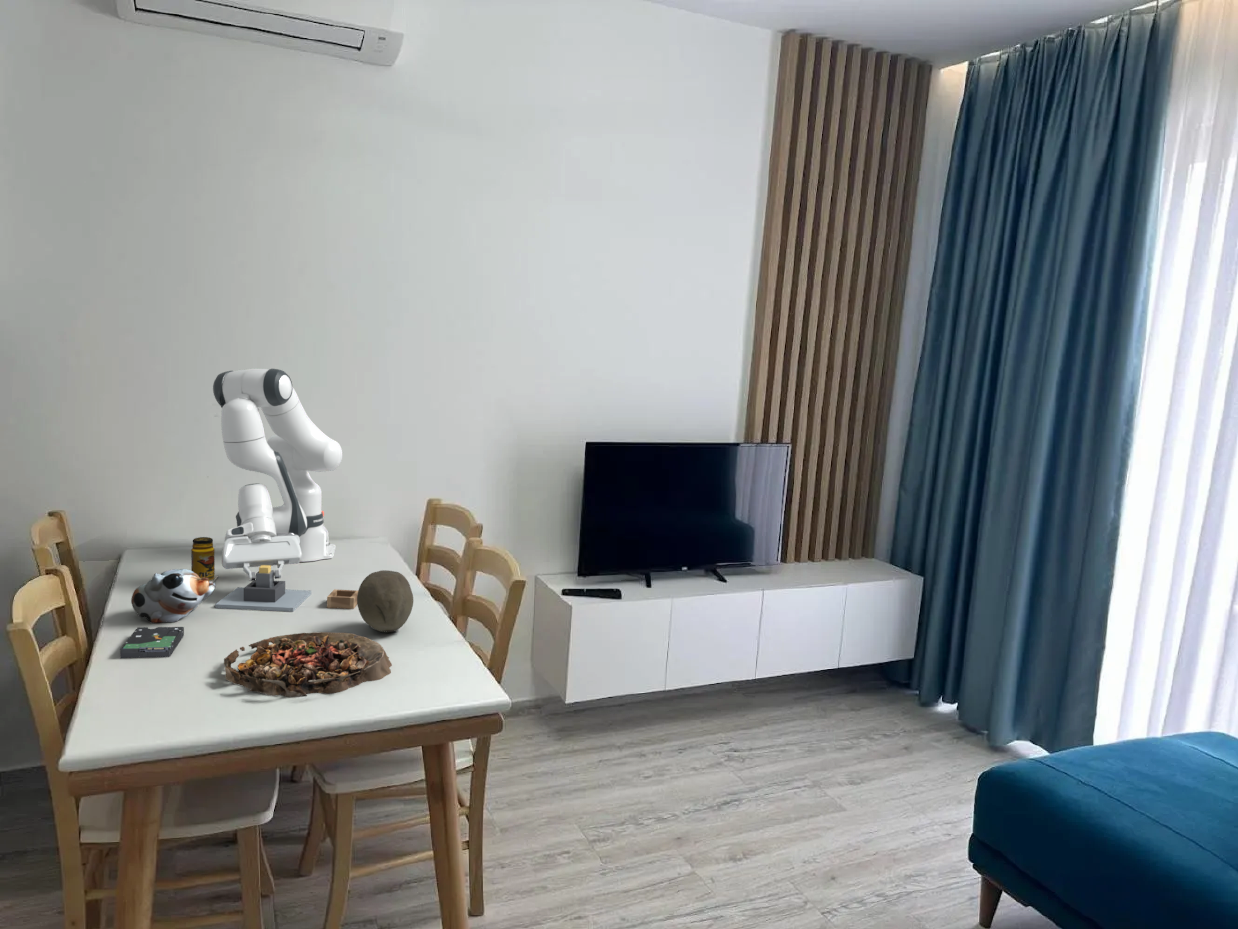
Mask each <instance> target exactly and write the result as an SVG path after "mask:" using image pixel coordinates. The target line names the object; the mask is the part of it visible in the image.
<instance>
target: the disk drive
mask: <svg viewBox="0 0 1238 929" xmlns="http://www.w3.org/2000/svg"><path fill="white" fill-rule="evenodd" d="M184 636H185V626H157V627H155V628H149V627H147V626H146V627H145V626H143V627H140V626H139V627H137V628H136V629H135V630H134V631H133V632H132V634H131V635H130V636H129V637H128V638H127V640H126V641H125V642H124V643H123V644H122V646H121V647H120V649H119V650H120V651H119V652H120V656H119V657H120V659H146V658H148V659H149V658H151V659H152V658H171V656H172V655H173V654H174V651H175V650H176V648H177V647H178V645H179V644H180V642H181V641H182V639H183V638H184Z"/></svg>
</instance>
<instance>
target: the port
mask: <svg viewBox="0 0 1238 929" xmlns="http://www.w3.org/2000/svg"><path fill="white" fill-rule="evenodd" d="M311 595H312V590H308V589H307V590H306V589H288V588H287V589H286V581H285V580H274V587H273V588H258V587H256V579H255V580H253V581H251V582H250V583H248V584H247V585H246V586H243V587H242V586H237V588H235V589H233V590H232V591H231V592H230V593H228V594H226V596H224V597H222V598H221V599H220V600H218V602H217V603H215V604H214V608H215V609H224V610H225V609H229V610H246V611H247V610H250V611H251V610H252V611H270V612H271V611H273V612H289V613H291V612H294V611H295V610H296V609H297V608H299V606H300V605H301V604H302V603H304V602H305V601H306V600H307V599H308V598H309V597H310V596H311Z"/></svg>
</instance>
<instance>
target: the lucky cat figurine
mask: <svg viewBox="0 0 1238 929" xmlns="http://www.w3.org/2000/svg"><path fill="white" fill-rule="evenodd" d="M151 577H152V578H151V579H149V580H148V581H147V583H144V584H142V585H140V586H138V587H136V588H135V590H133V592H132V595H131V599H130V600H131V602H130V604H131V605H132V608H133V610H134V611H135V613H136V614H137V616H138V617H140V618H146V619H147V621H148V622H149V623H152V624H160V623H161V624H163V623H164V624H165V623H177V622H178V621H179V620H181V619H182V618H185V617H187V616H188V615H190V613H191V612H192V611H194V610H196V609H197V608H198V606H199V605H201V603H202V602H203V601H205V600H206V599H208V597H209V596H211V595H212V593H213V592H214V590H215V588H216V586H217V585H216V582H214V581H213V582H209V579H208V578H205V577H203V578H200V577H199V576H198V575H197V574H196V573H194V572H192V571H191V569H186V568H185V569H184V568H182V569H179V568H178V569H177V568H175V569H169V570H165V571H163V572H160V573H158V572H156V573H154V574H153V576H151Z"/></svg>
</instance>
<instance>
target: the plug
mask: <svg viewBox="0 0 1238 929" xmlns="http://www.w3.org/2000/svg"><path fill="white" fill-rule="evenodd" d="M274 572H275V570H274V569H273V570H272V566H269V565H262V566H260V567H258V570H257V572H255V576H256V579H255V580H256V587H258V588H273V587H274V581H275V576H274Z"/></svg>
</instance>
